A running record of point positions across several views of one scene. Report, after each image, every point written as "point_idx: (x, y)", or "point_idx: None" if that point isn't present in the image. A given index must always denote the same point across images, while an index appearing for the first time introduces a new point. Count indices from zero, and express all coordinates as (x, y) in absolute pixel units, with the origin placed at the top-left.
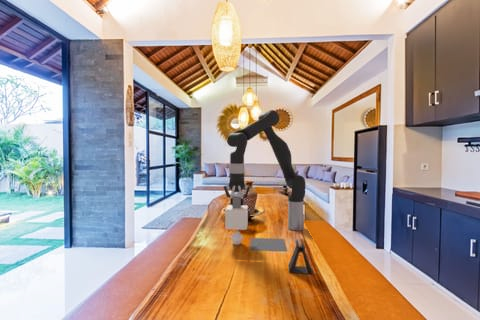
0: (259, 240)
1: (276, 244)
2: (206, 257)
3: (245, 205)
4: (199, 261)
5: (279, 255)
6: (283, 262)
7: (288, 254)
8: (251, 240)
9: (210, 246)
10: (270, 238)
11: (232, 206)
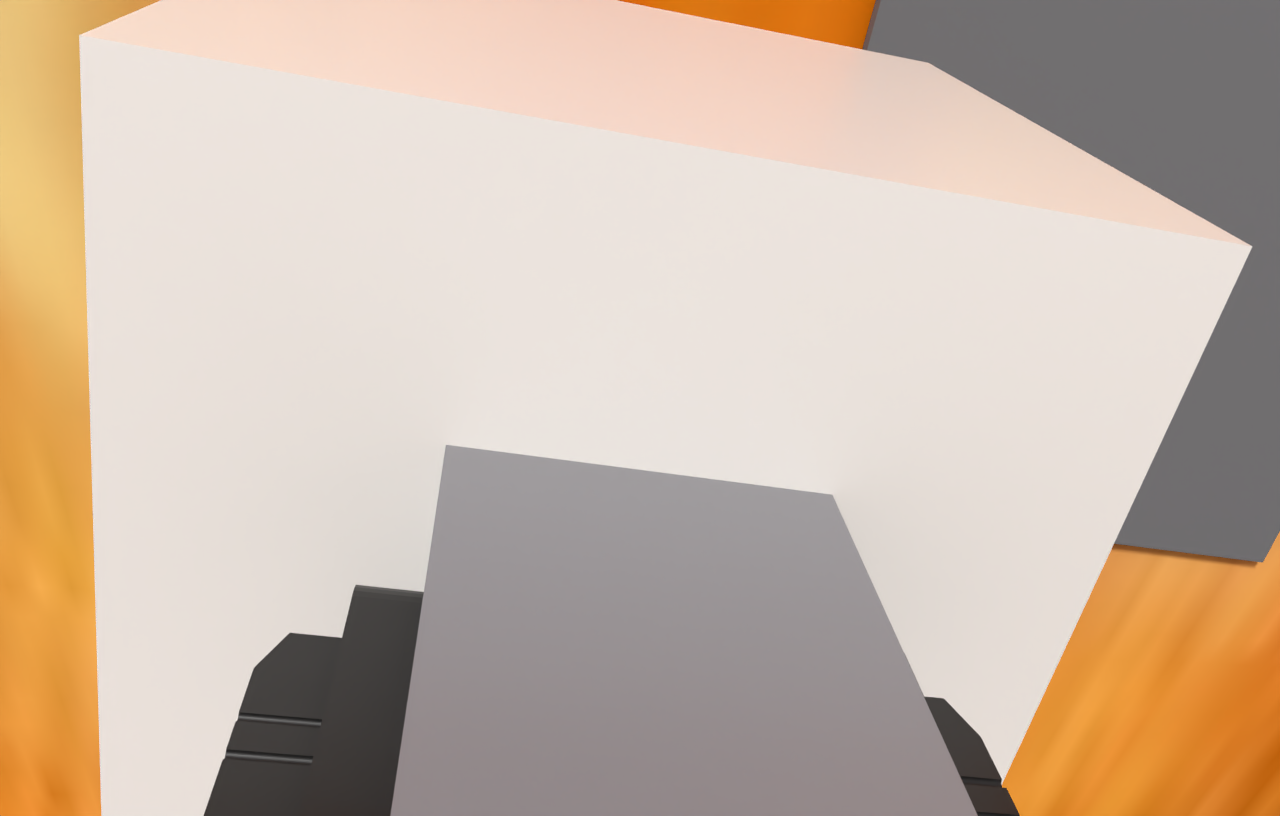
0: (1049, 53)
1: (1256, 295)
2: (90, 656)
3: (1131, 257)
4: (23, 755)
5: (1096, 640)
6: (1048, 801)
7: (1224, 618)
8: (890, 33)
9: (50, 244)
10: None
11: (395, 445)
